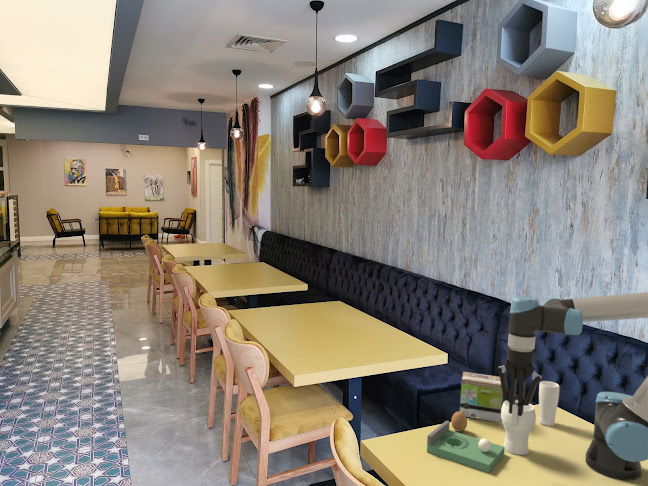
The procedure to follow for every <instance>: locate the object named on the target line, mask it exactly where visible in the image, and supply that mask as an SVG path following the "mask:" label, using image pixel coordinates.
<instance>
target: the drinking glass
mask: <svg viewBox="0 0 648 486" xmlns="http://www.w3.org/2000/svg"><path fill="white" fill-rule="evenodd" d="M538 386H539V387H538V388H539V390H538V405H539V406H538V408H539V409H538V411H539V412H538V413H539V415H538V416H539V418H538V421H539V423H540V425H541V424H542V425H543V426H548V427H551V426H552V427H553V426H554V425H555V423H556V415H557V408H558V404H559V398H560V385H559V384H558V383H556V382H554V381H549V380H542V381H541V380H540V382H539V385H538Z"/></svg>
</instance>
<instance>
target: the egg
mask: <svg viewBox="0 0 648 486" xmlns="http://www.w3.org/2000/svg"><path fill="white" fill-rule="evenodd" d="M467 418H468V417H466V416H465V414H464V413H463V412H461V411H460V410H459V411H455V413H453V414H452V416H451V421H450V424H451V426H452V428H453V430H454V431H455V432H458V433H461V432H463V431H465V430H466V428H467V426H468V419H467Z"/></svg>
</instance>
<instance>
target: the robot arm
mask: <svg viewBox="0 0 648 486" xmlns="http://www.w3.org/2000/svg"><path fill="white" fill-rule="evenodd" d="M510 303H511V305H510V310H509V325H508V338H507V346H508V347H507V349H506V350H507V351H506V361H505V362H504V365H499V366H498V367H497V368H496V372H497V373H498V375H499V377H500V381H501V387H502V393H503V399H502V400H504V401H506V400H507V401H508V402H509V413H511V414H512V420H511V426H515V427H517V425H518V424H519V416H522V414H523V407H524V405H526V406H527V405H529V404H531V402H532V400H533V397H534V393H535V391H536V388H537V386H538V384H539V381H541V380H542V378H543V375H542V374H539V373H537V372H536V368H535V367H534V362H535V351H534V350H535V348H536V347H535V346H536V336H537V332H544V333H545V332H546V333H552V334H553V333H554V334H560V335H561V334H562V335H566V336H579V335H580V334H581V333H582V331H583V326H584V325H583V323H592V322H593V323H594V322H605V321H606V322H607V321H618V320H619V321H620V320H622V321H623V320H633V319H634V320H637V319H648V291H645V292H644V291H643V292H633V293H623V294H613V295H612V294H611V295H600V296H590V297H576V298H567V299H560V298H557V297H556V298H553V297H552V298H549V299H547V300H546V301H545V302H544V303H543V304H542V305H540V303H539V300H538V298H537V297H536V298H535V297H531V296H523V295H520V296H517V295H516V296H514V297H513V298H512V299H511V302H510ZM506 372H507V373H508V374H509V376H510V387H509V383H508V377H507V373H506ZM530 377H531V380H532V381H531V384H530V386H529V389H528V392H527V393H526V387H527V385H526V383H527V379H529V378H530ZM518 382H519V383H518ZM517 385H519V386H518V387H517ZM517 388H518V397H516V396H517ZM516 398H517V399H516ZM516 400H518V403H517V402H515V401H516ZM594 415H595V416H594V423H593V424H594V426H593V437H592V440H591V441H590V444H589V446H588V447H587V450H586V452H585V459H584V461H585V463H586V465H587V466H588V467H589V468H590V469H591V470H594V471H595V472H597V473H599V474H601V475H604V476H607V477H610V478H613V479H620V480H627V481H628V480H629V481H630V480H636V479H639V478H641V476H642V469H643V468H642V462H644V461H645V462H646V461H647V460H648V375H647V376H646V377H645V379H644V380H643V382H642V383H641V385H640V386H639V387H637V389H636V391H635V392H634V394H633V395H629V394H625V393H620V392H613V391H600V392H599V393H597V395H596V400H595V411H594Z"/></svg>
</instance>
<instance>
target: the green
mask: <svg viewBox="0 0 648 486" xmlns="http://www.w3.org/2000/svg"><path fill="white" fill-rule="evenodd" d="M450 424H451V421H449V420H445V421H444V422H443V423H442V424H440V425H439V426H437V427H436V428H435V429H434V430H433V431H432V432H431V433H429V434H428V435H427V440H426V441H427V442H426V443H427V444H426V453H428V454H432V455H435V456H437V457H441V458H443V459H446V460H449V461H452V462H455V463H458V464H460V465H464V466H466V467H469V468H472V469H475V470H478V471H481V472H484V473H487V474H490V472H491V471H492V470H493V468H494V467H495V466H496V465H497V464H498V462H499V461H500V460H501V459H502V458H503V456H504V455H505V447H504V445H499V444H496V443H493V442H490V443H491V450H490V451H489V452H482V451H481V450H480V449H479V447H478V443H479V441H480V440H481V439H480V438H476V437H473V436H470V435H467V434H464V433H461V432H459V431H455V430H454V431H453V430H451V429H450Z"/></svg>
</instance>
